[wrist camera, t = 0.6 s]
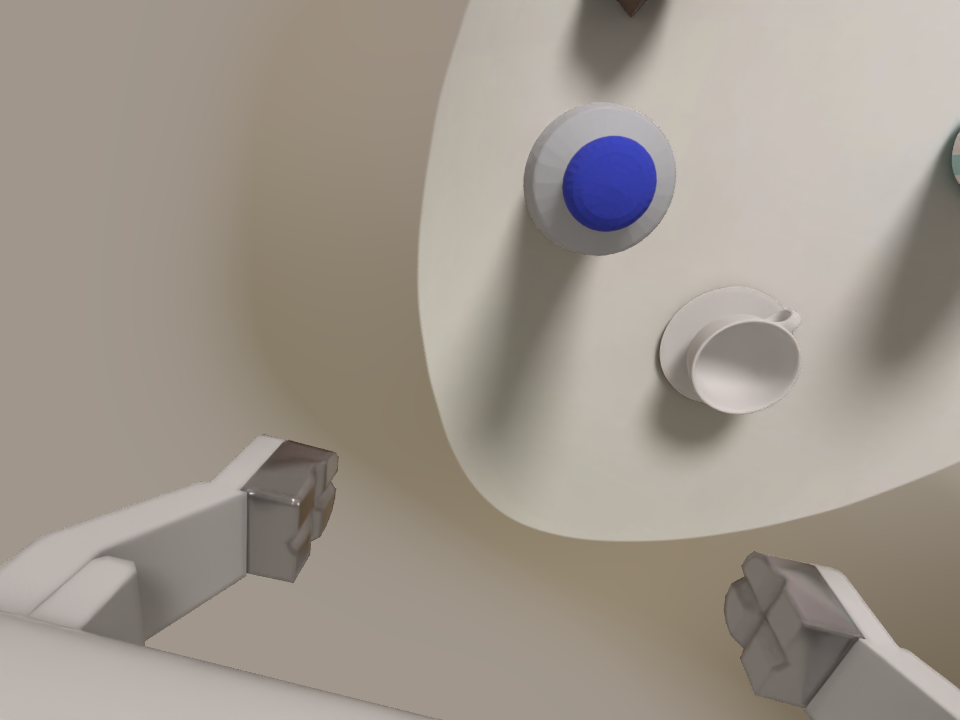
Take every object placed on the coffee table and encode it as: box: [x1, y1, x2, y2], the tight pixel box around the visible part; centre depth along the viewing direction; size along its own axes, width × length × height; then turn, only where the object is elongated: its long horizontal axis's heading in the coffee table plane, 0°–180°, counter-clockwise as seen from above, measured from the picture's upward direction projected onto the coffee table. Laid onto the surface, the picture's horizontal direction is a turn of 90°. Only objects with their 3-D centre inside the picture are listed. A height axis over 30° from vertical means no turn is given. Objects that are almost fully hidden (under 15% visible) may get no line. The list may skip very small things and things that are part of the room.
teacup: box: [660, 287, 801, 414], centre depth 37 cm, size 10×10×5 cm
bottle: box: [524, 102, 676, 256], centre depth 26 cm, size 7×7×20 cm
